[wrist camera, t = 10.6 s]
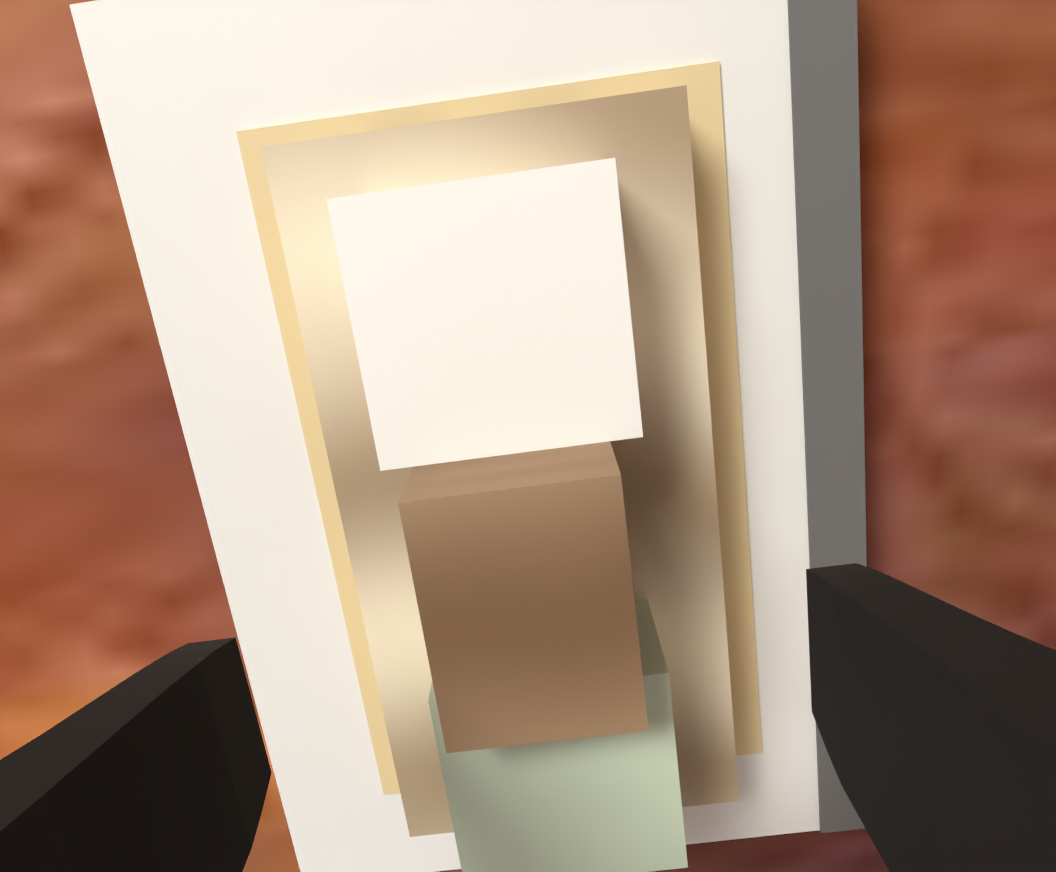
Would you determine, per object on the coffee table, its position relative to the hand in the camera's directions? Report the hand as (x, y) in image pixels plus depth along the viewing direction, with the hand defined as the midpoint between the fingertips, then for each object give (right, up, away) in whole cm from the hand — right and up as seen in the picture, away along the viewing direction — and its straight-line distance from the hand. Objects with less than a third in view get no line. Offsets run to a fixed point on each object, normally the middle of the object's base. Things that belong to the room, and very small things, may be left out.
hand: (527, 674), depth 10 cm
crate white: (-1, +5, +4) cm, 7 cm away
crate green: (+1, -2, +6) cm, 7 cm away
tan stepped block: (0, +2, +7) cm, 7 cm away
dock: (0, +3, +9) cm, 10 cm away
